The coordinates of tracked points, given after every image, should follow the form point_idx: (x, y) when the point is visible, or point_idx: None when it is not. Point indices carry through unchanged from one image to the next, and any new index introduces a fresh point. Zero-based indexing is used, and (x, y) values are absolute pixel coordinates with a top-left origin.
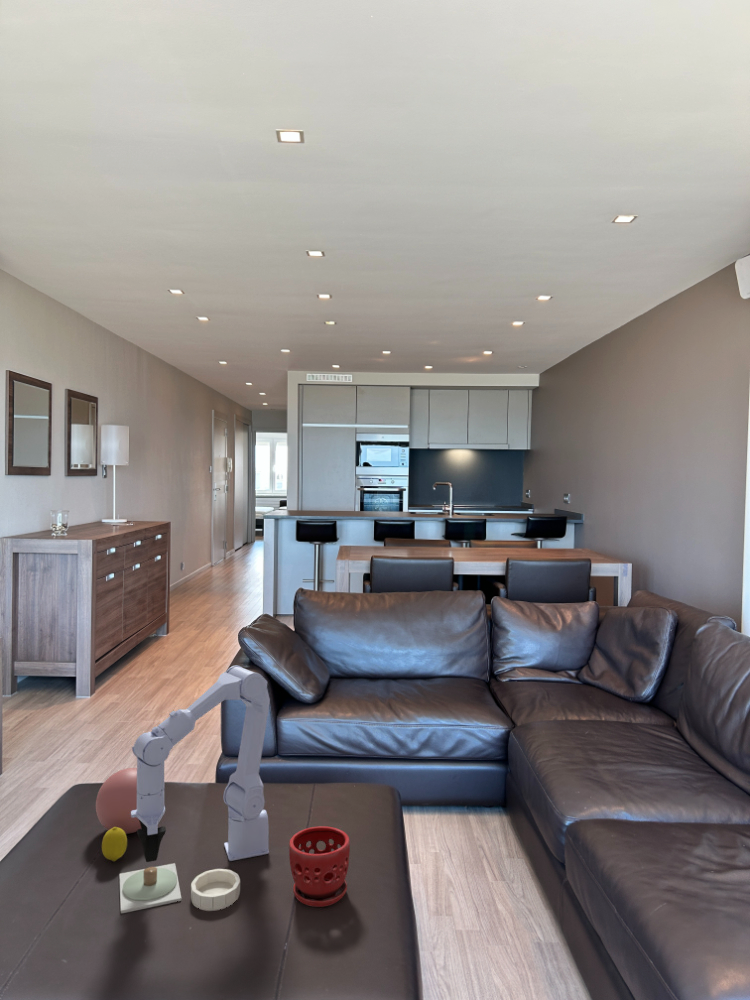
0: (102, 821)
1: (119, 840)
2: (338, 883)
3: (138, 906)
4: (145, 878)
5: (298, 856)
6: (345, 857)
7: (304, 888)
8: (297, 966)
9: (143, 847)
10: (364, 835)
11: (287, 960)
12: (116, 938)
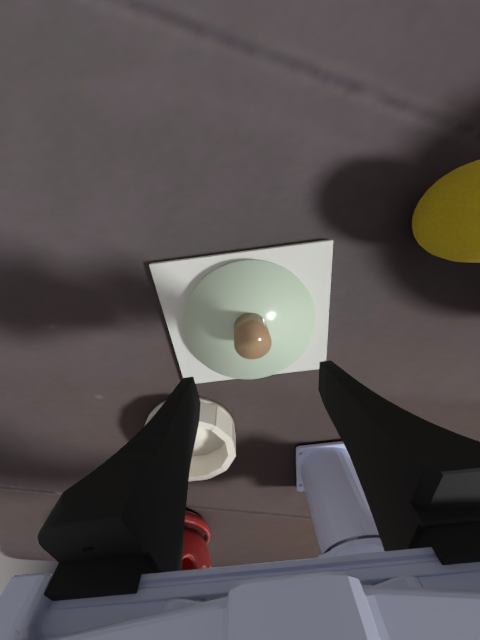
0: None
1: (462, 240)
2: None
3: (164, 305)
4: (238, 326)
5: None
6: None
7: None
8: (22, 500)
9: (143, 427)
10: (298, 558)
11: (32, 493)
12: (51, 263)
